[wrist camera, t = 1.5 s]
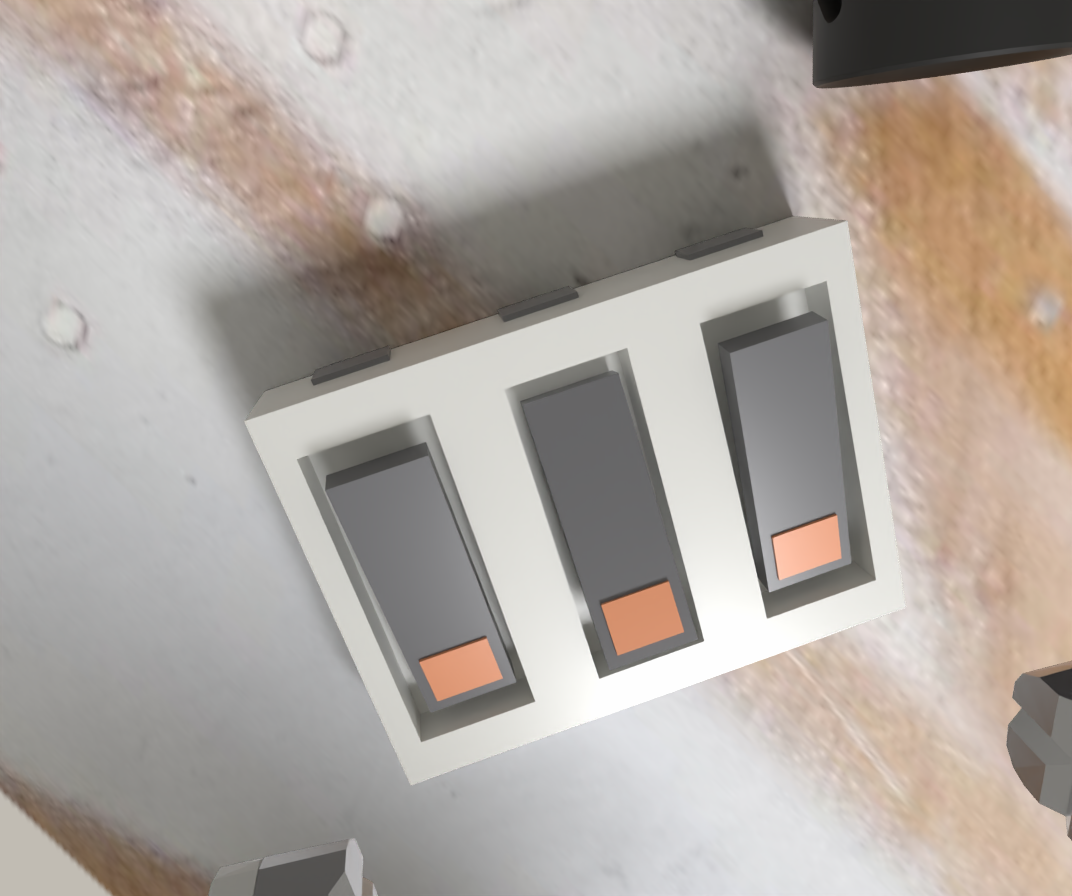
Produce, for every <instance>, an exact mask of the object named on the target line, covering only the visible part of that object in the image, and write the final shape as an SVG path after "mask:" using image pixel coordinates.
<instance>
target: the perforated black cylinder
mask: <svg viewBox="0 0 1072 896" xmlns="http://www.w3.org/2000/svg"><path fill="white" fill-rule="evenodd" d="M1071 54H1072V0H813V85H814V86H815V87H817V88H840V87H852V86H862V85H871V84H880V83H889V82H898V81H907V80H914V79H922V78H930V77H937V76H945V75H952V74H959V73H966V72H972V71H979V70H985V69H992V68H998V67H1004V66H1011V65H1017V64H1023V63H1029V62H1034V61H1040V60H1045V59H1051V58H1056V57H1061V56H1066V55H1071Z"/></svg>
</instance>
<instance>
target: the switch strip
mask: <svg viewBox="0 0 1072 896" xmlns="http://www.w3.org/2000/svg"><path fill="white" fill-rule="evenodd" d="M675 254H676V255H675V256H671V257H668V258H665V259H662V260H659V261H656V262H653V263H650V264H647V265H644V266H641V267H638V268H635V269H632V270H629V271H626V272H623V273H620V274H617V275H614V276H611V277H608V278H605V279H602V280H599V281H596V282H593V283H590V284H587V285H584V286H581V287H578V288H575V289H572V288H571V287H569V286H568V287H565V288H562V289H559V290H556V291H553V292H550V293H547V294H544V295H540V296H537V297H534V298H531V299H528V300H525V301H522V302H519V303H516V304H513V305H510V306H507V307H504V308H501V309H498V310H497V311H498V314H496V315H493V316H490V317H487V318H484V319H481V320H478V321H475V322H472V323H469V324H466V325H463V326H460V327H457V328H454V329H451V330H448V331H445V332H442V333H439V334H436V335H433V336H430V337H427V338H424V339H421V340H418V341H415V342H412V343H409V344H406V345H403V346H400V347H397V348H394V349H391V350H390V348H389V346H386V347H383V348H380V349H377V350H374V351H371V352H368V353H365V354H362V355H359V356H356V357H353V358H350V359H347V360H344V361H341V362H338V363H335V364H332V365H329V366H326V367H323V368H320V369H317V370H315V372H314V374H313V375H312V376H309V377H306V378H303V379H300V380H297V381H294V382H291V383H288V384H285V385H282V386H279V387H276V388H273V389H270V390H267V391H264V393H263V394H262V396H261V397H260V399H259V400H258V402H257V403H256V404H255V406H254V407H253V409H252V410H251V412H250V413H249V415H248V416H247V418H246V419H245V421H244V423H245V425H246V427H247V429H248V431H249V434H250V436H251V438H252V440H253V442H254V444H255V447H256V449H257V451H258V453H259V455H260V458H261V460H262V462H263V464H264V466H265V468H266V471H267V473H268V475H269V477H270V479H271V482H272V484H273V486H274V488H275V490H276V492H277V495H278V497H279V499H280V501H281V503H282V506H283V508H284V510H285V512H286V514H287V517H288V519H289V521H290V523H291V525H292V527H293V530H294V532H295V534H296V536H297V538H298V541H299V543H300V545H301V547H302V549H303V551H304V554H305V556H306V558H307V560H308V562H309V565H310V567H311V569H312V571H313V573H314V575H315V578H316V580H317V582H318V584H319V586H320V589H321V591H322V593H323V595H324V597H325V600H326V602H327V604H328V606H329V608H330V610H331V613H332V615H333V617H334V619H335V621H336V624H337V626H338V628H339V630H340V632H341V634H342V637H343V639H344V641H345V643H346V645H347V648H348V650H349V652H350V654H351V656H352V658H353V661H354V663H355V665H356V667H357V669H358V672H359V674H360V676H361V678H362V680H363V683H364V685H365V687H366V689H367V691H368V693H369V696H370V698H371V700H372V702H373V704H374V707H375V709H376V711H377V713H378V715H379V717H380V720H381V722H382V724H383V726H384V728H385V731H386V733H387V735H388V737H389V739H390V741H391V744H392V746H393V748H394V750H395V752H396V755H397V757H398V759H399V761H400V763H401V766H402V768H403V770H404V772H405V774H406V776H407V779H408V781H409V783H410V785H414V784H417V783H420V782H423V781H425V780H428V779H431V778H434V777H437V776H439V775H442V774H445V773H448V772H450V771H453V770H456V769H459V768H462V767H464V766H467V765H470V764H473V763H475V762H478V761H481V760H484V759H487V758H489V757H492V756H495V755H498V754H500V753H503V752H506V751H509V750H512V749H514V748H517V747H520V746H523V745H526V744H528V743H531V742H534V741H537V740H539V739H542V738H545V737H548V736H551V735H553V734H556V733H559V732H562V731H564V730H567V729H570V728H573V727H576V726H578V725H581V724H584V723H587V722H590V721H592V720H595V719H598V718H601V717H603V716H606V715H609V714H612V713H615V712H617V711H620V710H623V709H626V708H628V707H631V706H634V705H637V704H640V703H642V702H645V701H648V700H651V699H654V698H656V697H659V696H662V695H665V694H667V693H670V692H673V691H676V690H679V689H681V688H684V687H687V686H690V685H692V684H695V683H698V682H701V681H704V680H706V679H709V678H712V677H715V676H718V675H720V674H723V673H726V672H729V671H731V670H734V669H737V668H740V667H743V666H745V665H748V664H751V663H754V662H756V661H759V660H762V659H765V658H768V657H770V656H773V655H776V654H779V653H782V652H784V651H787V650H790V649H793V648H795V647H798V646H801V645H804V644H807V643H809V642H812V641H815V640H818V639H820V638H823V637H826V636H829V635H832V634H834V633H837V632H840V631H843V630H846V629H848V628H851V627H854V626H857V625H859V624H862V623H865V622H868V621H871V620H873V619H876V618H879V617H882V616H884V615H887V614H890V613H893V612H896V611H898V610H901V609H904V608H906V603H905V596H904V590H903V583H902V577H901V570H900V563H899V557H898V550H897V544H896V537H895V531H894V524H893V518H892V511H891V504H890V498H889V491H888V485H887V478H886V472H885V465H884V458H883V452H882V445H881V439H880V432H879V426H878V419H877V412H876V406H875V399H874V393H873V386H872V380H871V373H870V367H869V360H868V353H867V347H866V340H865V334H864V327H863V321H862V314H861V307H860V301H859V294H858V288H857V281H856V275H855V268H854V261H853V255H852V248H851V242H850V235H849V229H848V222H847V221H846V220H834V219H822V218H810V217H798V216H792V217H789V218H786V219H783V220H780V221H777V222H774V223H771V224H768V225H765V226H762V227H759V228H756V229H749V228H743V229H740V230H737V231H734V232H731V233H728V234H725V235H722V236H719V237H716V238H713V239H710V240H707V241H704V242H701V243H698V244H695V245H691V246H688V247H685V248H682V249H679V250H676V251H675ZM811 311H813V312H815V313H816V314H818V315H820V316H822V317H823V318H825V319H827V320H828V326H829V336H830V346H831V357H832V367H833V378H834V388H835V398H836V409H837V419H838V429H839V440H840V450H841V460H842V471H843V481H844V491H845V502H846V512H847V523H848V533H849V543H850V554H851V564H848V565H845V566H842V567H840V568H837V569H834V570H831V571H828V572H826V573H823V574H820V575H817V576H814V577H811V578H809V579H806V580H803V581H800V582H797V583H795V584H792V585H789V586H786V587H783V588H781V589H778V590H775V591H772V592H768V590H767V589H766V588H765V586H764V585H763V584H762V582H761V581H760V580H759V579H758V577H757V572H756V566H755V560H754V554H753V548H752V542H751V537H750V531H749V525H748V519H747V513H746V507H745V501H744V496H743V490H742V484H741V478H740V472H739V466H738V460H737V455H736V449H735V443H734V437H733V431H732V425H731V420H730V414H729V408H728V402H727V396H726V390H725V384H724V379H723V373H722V367H721V361H720V355H719V349H718V343H720V342H723V341H726V340H728V339H731V338H734V337H737V336H740V335H743V334H746V333H749V332H752V331H755V330H758V329H761V328H764V327H767V326H770V325H773V324H776V323H779V322H782V321H785V320H788V319H791V318H794V317H797V316H799V315H802V314H805V313H808V312H811ZM611 370H613V371H615V372H618V373H619V377H620V380H621V383H622V387H623V390H624V393H625V397H626V400H627V403H628V407H629V410H630V413H631V417H632V420H633V423H634V427H635V430H636V433H637V437H638V440H639V443H640V447H641V450H642V453H643V457H644V460H645V464H646V467H647V470H648V474H649V477H650V480H651V484H652V487H653V490H654V494H655V497H656V500H657V504H658V507H659V510H660V514H661V517H662V520H663V524H664V527H665V530H666V534H667V537H668V540H669V544H670V547H671V550H672V554H673V557H674V561H675V564H676V567H677V571H678V574H679V577H680V581H681V584H682V587H683V591H684V594H685V597H686V601H687V604H688V607H689V611H690V614H691V617H692V621H693V624H694V627H695V631H696V634H697V637H698V639H697V640H694V641H692V642H689V643H686V644H683V645H680V646H677V647H675V648H672V649H669V650H666V651H663V652H661V653H658V654H655V655H652V656H649V657H647V658H644V659H641V660H638V661H635V662H633V663H630V664H627V665H624V666H621V667H619V668H616V669H613V670H609V667H608V665H607V663H606V661H605V658H604V655H603V652H602V649H601V646H600V643H599V640H598V637H597V634H596V631H595V628H594V625H593V622H592V619H591V616H590V613H589V610H588V607H587V604H586V601H585V598H584V595H583V592H582V589H581V586H580V582H579V579H578V576H577V573H576V570H575V567H574V564H573V561H572V558H571V555H570V552H569V549H568V546H567V543H566V540H565V537H564V534H563V531H562V528H561V525H560V522H559V519H558V516H557V513H556V510H555V507H554V504H553V501H552V498H551V494H550V491H549V488H548V485H547V482H546V479H545V476H544V473H543V470H542V467H541V464H540V461H539V458H538V455H537V452H536V449H535V446H534V443H533V440H532V437H531V434H530V431H529V428H528V425H527V422H526V419H525V416H524V413H523V409H522V406H521V403H520V401H522V400H525V399H528V398H531V397H534V396H537V395H540V394H543V393H546V392H549V391H552V390H555V389H558V388H561V387H564V386H567V385H570V384H573V383H576V382H579V381H581V380H584V379H587V378H590V377H593V376H596V375H599V374H602V373H605V372H608V371H611ZM424 442H426V443H427V446H428V448H429V451H430V453H431V456H432V458H433V461H434V464H435V466H436V469H437V471H438V474H439V476H440V479H441V482H442V484H443V487H444V489H445V492H446V494H447V497H448V500H449V502H450V505H451V507H452V510H453V513H454V515H455V518H456V520H457V523H458V525H459V528H460V531H461V533H462V536H463V538H464V541H465V543H466V546H467V549H468V551H469V554H470V556H471V559H472V561H473V564H474V567H475V569H476V572H477V574H478V577H479V579H480V582H481V585H482V587H483V590H484V592H485V595H486V597H487V600H488V603H489V605H490V608H491V610H492V613H493V615H494V618H495V621H496V623H497V626H498V628H499V631H500V633H501V636H502V639H503V641H504V644H505V646H506V649H507V651H508V654H509V657H510V659H511V662H512V665H513V669H514V673H515V677H516V681H517V682H516V683H513V684H510V685H507V686H505V687H502V688H499V689H496V690H493V691H491V692H488V693H485V694H482V695H479V696H476V697H474V698H471V699H468V700H465V701H462V702H460V703H457V704H454V705H451V706H448V707H446V708H443V709H440V710H437V711H434V712H430V710H429V708H428V706H427V703H426V701H425V699H424V697H423V695H422V693H421V691H420V689H419V687H418V685H417V682H416V680H415V678H414V676H413V674H412V672H411V670H410V668H409V666H408V664H407V661H406V659H405V657H404V655H403V653H402V651H401V649H400V647H399V645H398V643H397V640H396V638H395V636H394V634H393V632H392V630H391V628H390V626H389V624H388V622H387V619H386V617H385V615H384V613H383V611H382V609H381V607H380V605H379V603H378V601H377V598H376V596H375V594H374V592H373V590H372V588H371V586H370V584H369V582H368V580H367V577H366V575H365V573H364V571H363V569H362V567H361V565H360V563H359V561H358V559H357V556H356V554H355V552H354V550H353V548H352V546H351V544H350V542H349V540H348V538H347V535H346V533H345V531H344V529H343V527H342V525H341V523H340V521H339V519H338V517H337V514H336V512H335V510H334V508H333V506H332V504H331V502H330V500H329V498H328V496H327V493H326V491H325V486H326V475H329V474H332V473H335V472H338V471H341V470H344V469H347V468H350V467H353V466H356V465H359V464H362V463H365V462H367V461H370V460H373V459H376V458H379V457H382V456H385V455H388V454H391V453H394V452H397V451H400V450H403V449H406V448H409V447H412V446H415V445H418V444H421V443H424Z"/></svg>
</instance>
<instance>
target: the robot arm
mask: <svg viewBox="0 0 1072 896" xmlns="http://www.w3.org/2000/svg"><path fill="white" fill-rule="evenodd" d="M1012 698H1013V699H1014V700H1015V701H1016V702H1017V703H1018V704H1019V705H1020V707H1021V708H1022V709H1021V710H1020V711H1019V712H1018V714H1017V715H1016V716H1015V717H1014V718H1013V720H1012V721H1011V722H1010V723H1009V724H1008V733H1007V744H1006V746H1007V749H1008V752H1009V755H1010V758H1011V762H1012V765H1013V768H1014V769H1015V771H1016V773H1017V775H1018V776H1019V778H1020V780H1021V781H1022V783H1023V785H1024V786H1025V787H1026V788H1027V789H1028V791H1029V792H1030V793H1031V794H1032V795H1033V796H1034V798H1035V799H1036V800H1037V801H1038V802H1039V803H1040V804H1042V805H1044V806H1046V807H1048V808H1050V809H1052V810H1054V811H1056V812H1058V813H1060V814H1062V815H1064V816H1065V817H1066V827H1067V836H1068V837H1069V838H1070V839H1071V840H1072V661H1069V662H1065V663H1061V664H1057V665H1053V666H1049V667H1045V668H1042V669H1038V670H1034V671H1030V672H1026V673H1023V674H1022V675H1021V676H1020V677H1019V678H1018V679H1017V680H1016V681H1015V685H1014V691H1013V697H1012ZM362 876H363V855H362V853H361V851H360V848H359V846H358V844H357V842H356V839H355V838H353V839H346V840H341V841H337V842H332V843H327V844H323V845H318V846H313V847H309V848H304V849H299V850H295V851H290V852H285V853H281V854H276V855H272V856H267V857H264V858H259V859H255V860H250V861H246V862H242V863H237V864H233V865H229V866H224V867H220V869H219V870H218V872H217V874H216V876H215V877H214V879H213V881H212V883H211V886H210V890H209V894H208V896H378V894H377V892H376V889H375V886H374V883H373V882H372V881H370V880H368V879H366V878H364V877H362Z"/></svg>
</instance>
